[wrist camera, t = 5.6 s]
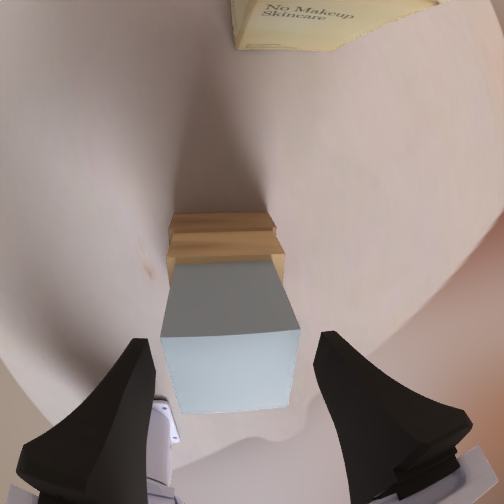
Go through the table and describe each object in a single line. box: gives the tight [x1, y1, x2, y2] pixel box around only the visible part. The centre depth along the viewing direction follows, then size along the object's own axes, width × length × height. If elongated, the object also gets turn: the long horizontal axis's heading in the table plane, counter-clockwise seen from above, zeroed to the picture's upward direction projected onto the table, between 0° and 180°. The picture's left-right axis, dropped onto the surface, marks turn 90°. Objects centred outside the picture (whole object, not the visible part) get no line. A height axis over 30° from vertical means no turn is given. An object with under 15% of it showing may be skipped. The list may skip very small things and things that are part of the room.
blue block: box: [160, 260, 301, 414], centre depth 12 cm, size 4×4×5 cm
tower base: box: [168, 212, 277, 245], centre depth 18 cm, size 6×6×3 cm
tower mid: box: [166, 231, 285, 286], centre depth 16 cm, size 6×6×3 cm
